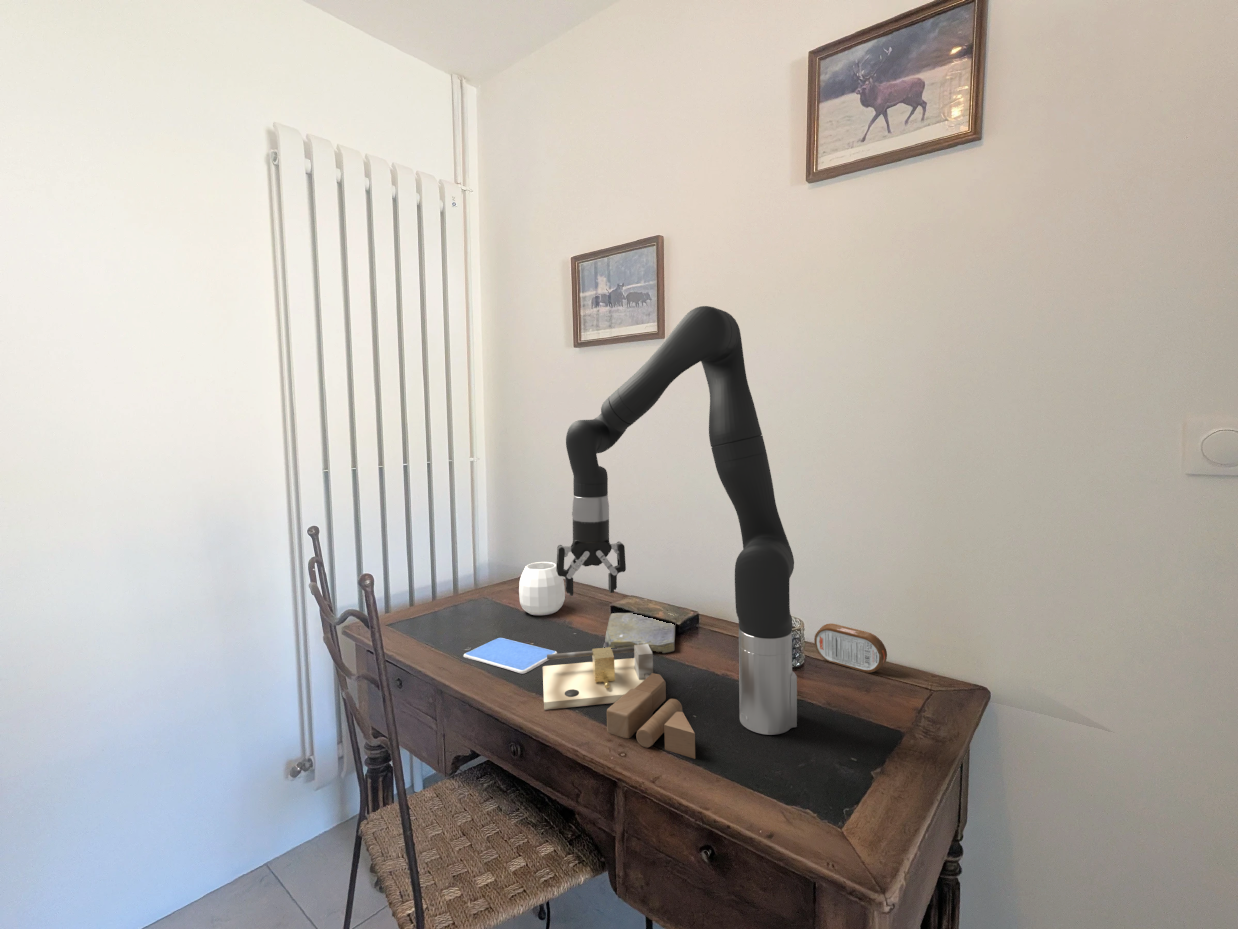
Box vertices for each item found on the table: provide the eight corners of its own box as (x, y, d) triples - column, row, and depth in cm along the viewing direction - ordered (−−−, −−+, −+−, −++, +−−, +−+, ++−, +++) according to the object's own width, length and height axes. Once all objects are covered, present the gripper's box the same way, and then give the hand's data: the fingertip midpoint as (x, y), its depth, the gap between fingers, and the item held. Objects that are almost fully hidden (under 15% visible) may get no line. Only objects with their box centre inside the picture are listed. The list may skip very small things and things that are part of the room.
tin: (887, 673, 120) (887, 635, 120) (882, 679, 118) (882, 639, 117) (818, 654, 131) (818, 618, 130) (812, 659, 128) (812, 622, 128)
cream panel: (646, 663, 128) (645, 634, 128) (661, 698, 112) (660, 664, 112) (542, 672, 125) (541, 642, 124) (544, 709, 109) (542, 675, 109)
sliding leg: (611, 669, 121) (610, 647, 121) (617, 688, 113) (616, 664, 113) (592, 671, 121) (592, 648, 120) (597, 690, 112) (596, 666, 112)
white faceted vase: (563, 619, 158) (561, 571, 157) (515, 620, 158) (513, 572, 157) (567, 603, 171) (566, 559, 170) (524, 604, 171) (522, 560, 170)
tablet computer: (461, 659, 135) (461, 653, 135) (499, 640, 145) (499, 635, 145) (523, 677, 124) (522, 671, 124) (559, 656, 135) (559, 650, 135)
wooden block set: (602, 706, 100) (650, 666, 115) (603, 737, 100) (651, 693, 116) (691, 731, 91) (730, 684, 106) (692, 765, 92) (731, 713, 107)
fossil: (601, 659, 134) (675, 656, 132) (600, 640, 134) (673, 636, 132) (612, 629, 154) (676, 626, 152) (610, 613, 154) (674, 609, 152)
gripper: (558, 522, 112) (559, 602, 114) (628, 518, 115) (628, 596, 117) (554, 515, 119) (555, 590, 121) (620, 511, 122) (620, 585, 124)
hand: (591, 593), depth 119 cm, fingers open, 8 cm apart
